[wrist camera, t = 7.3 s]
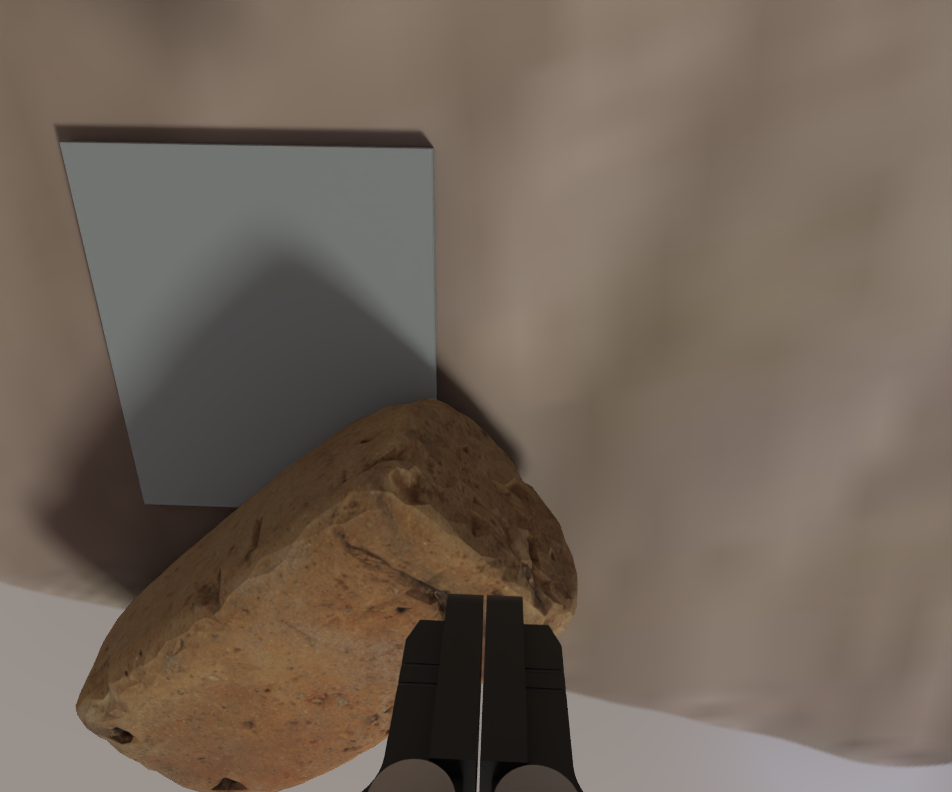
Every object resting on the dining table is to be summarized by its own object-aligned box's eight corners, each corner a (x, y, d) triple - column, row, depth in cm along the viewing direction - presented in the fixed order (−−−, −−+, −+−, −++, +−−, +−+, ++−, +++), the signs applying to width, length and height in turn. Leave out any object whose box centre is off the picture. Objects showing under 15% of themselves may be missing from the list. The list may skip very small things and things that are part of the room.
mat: (69, 141, 24) (59, 142, 23) (433, 147, 23) (432, 149, 23) (150, 496, 30) (144, 504, 29) (438, 506, 29) (437, 514, 29)
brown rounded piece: (408, 348, 25) (119, 589, 32) (375, 471, 18) (24, 736, 26) (584, 516, 29) (291, 696, 36) (607, 664, 22) (245, 846, 30)
